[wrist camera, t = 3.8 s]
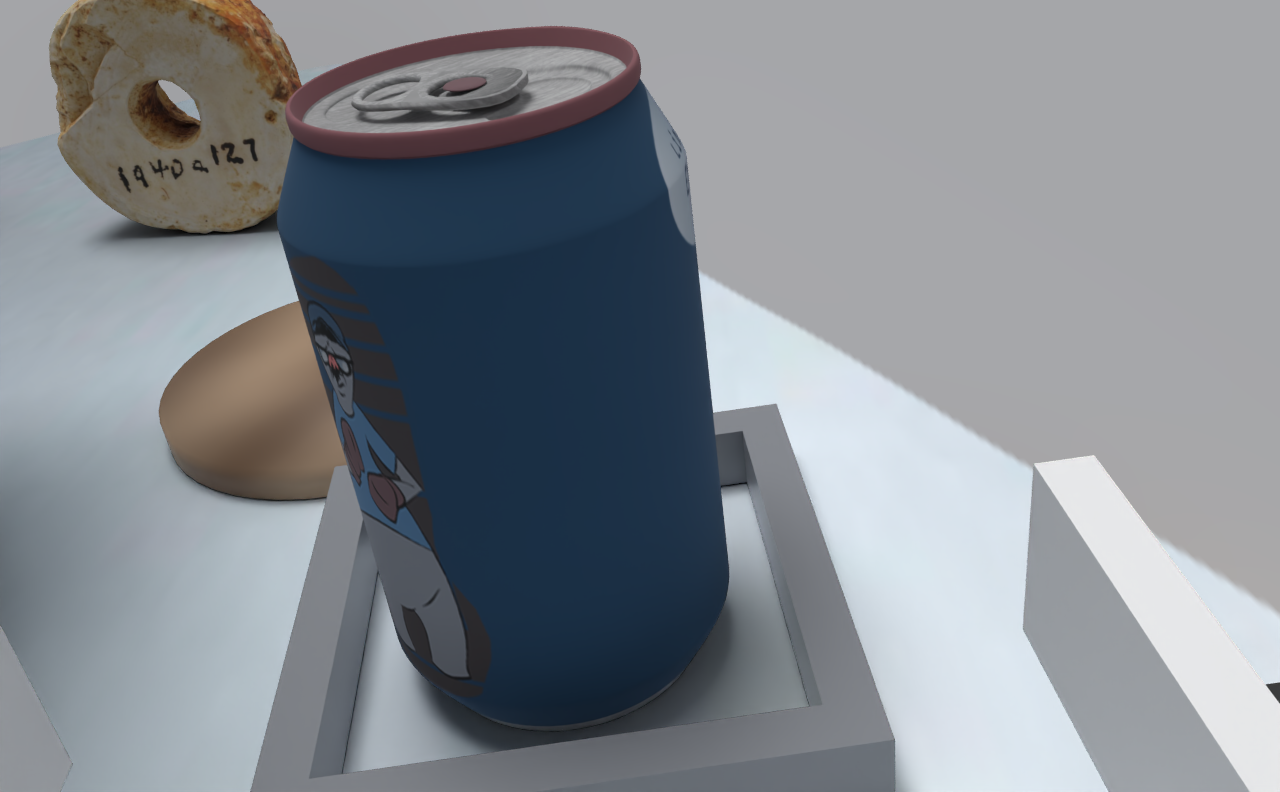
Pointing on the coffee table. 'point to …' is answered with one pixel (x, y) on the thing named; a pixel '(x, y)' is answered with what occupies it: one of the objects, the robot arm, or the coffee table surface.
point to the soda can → (515, 363)
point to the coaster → (255, 412)
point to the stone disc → (175, 109)
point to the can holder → (622, 763)
